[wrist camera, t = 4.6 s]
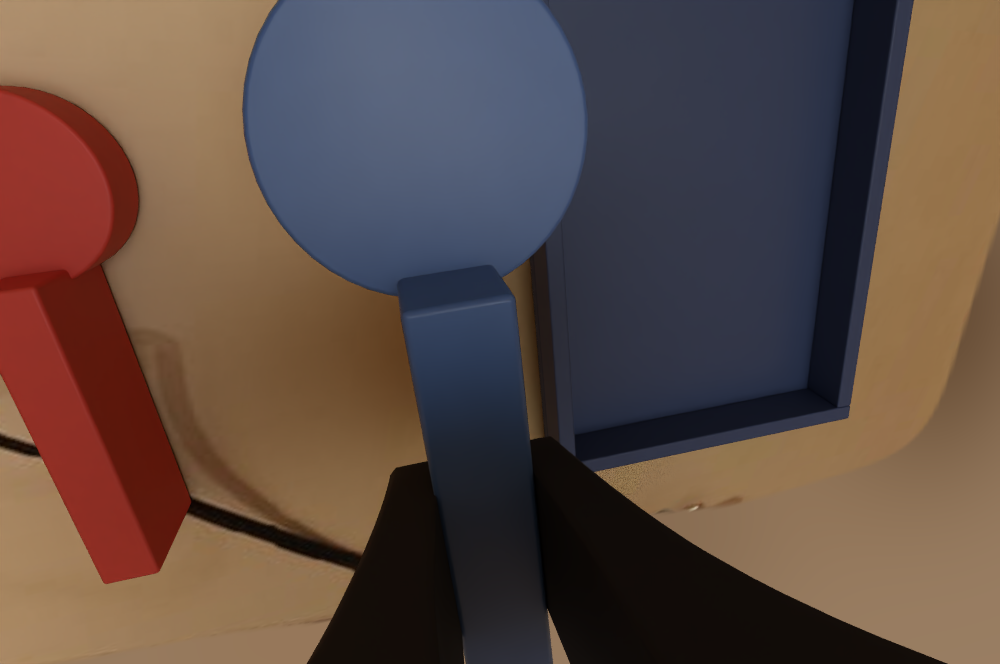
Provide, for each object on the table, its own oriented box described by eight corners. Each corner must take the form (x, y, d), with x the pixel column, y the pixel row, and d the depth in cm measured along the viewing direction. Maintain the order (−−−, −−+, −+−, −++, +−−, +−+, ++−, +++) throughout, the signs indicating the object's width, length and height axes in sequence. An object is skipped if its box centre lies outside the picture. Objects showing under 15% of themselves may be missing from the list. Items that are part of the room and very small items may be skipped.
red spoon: (243, 491, 18) (219, 561, 15) (92, 521, 18) (40, 599, 15) (102, 76, 13) (32, 70, 11) (-110, 97, 13) (-242, 96, 10)
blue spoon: (585, 576, 13) (641, 703, 10) (389, 623, 12) (393, 771, 10) (545, -49, 8) (627, -123, 6) (226, -23, 8) (143, -90, 5)
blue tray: (808, 391, 21) (848, 418, 19) (544, 444, 20) (561, 479, 18) (875, -151, 15) (944, -186, 13) (497, -130, 14) (515, -166, 12)
